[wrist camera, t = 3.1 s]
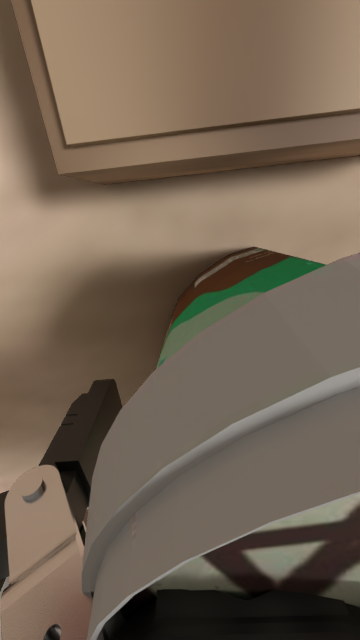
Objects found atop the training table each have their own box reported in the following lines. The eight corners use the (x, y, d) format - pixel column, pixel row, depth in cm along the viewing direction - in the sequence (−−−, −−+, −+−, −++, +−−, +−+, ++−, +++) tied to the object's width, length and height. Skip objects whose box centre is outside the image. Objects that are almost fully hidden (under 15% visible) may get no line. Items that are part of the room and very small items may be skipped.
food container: (108, 245, 11) (-298, 494, 2) (250, 209, 10) (893, 291, 1) (176, 436, 16) (168, 746, 7) (272, 421, 15) (404, 741, 6)
